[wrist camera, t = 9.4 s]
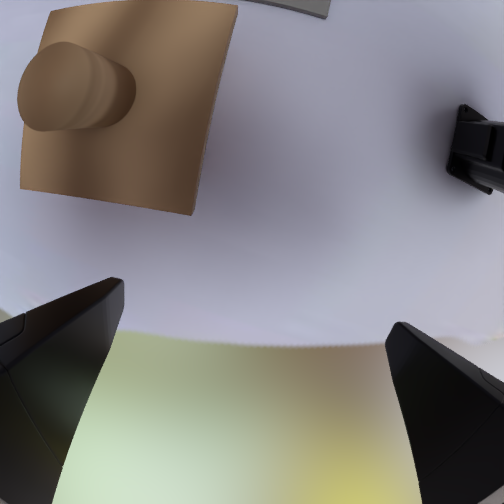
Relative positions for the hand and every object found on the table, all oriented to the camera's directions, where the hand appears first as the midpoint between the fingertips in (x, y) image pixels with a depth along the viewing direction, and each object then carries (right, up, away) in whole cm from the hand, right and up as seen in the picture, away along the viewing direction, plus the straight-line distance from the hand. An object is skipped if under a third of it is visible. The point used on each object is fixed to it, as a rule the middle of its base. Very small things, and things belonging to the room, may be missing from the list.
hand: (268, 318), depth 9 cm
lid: (-8, +10, +4) cm, 13 cm away
